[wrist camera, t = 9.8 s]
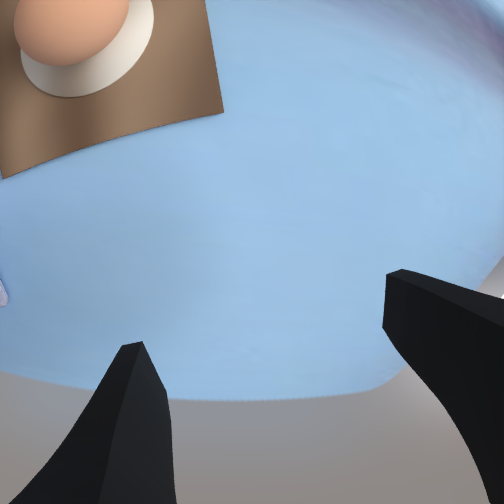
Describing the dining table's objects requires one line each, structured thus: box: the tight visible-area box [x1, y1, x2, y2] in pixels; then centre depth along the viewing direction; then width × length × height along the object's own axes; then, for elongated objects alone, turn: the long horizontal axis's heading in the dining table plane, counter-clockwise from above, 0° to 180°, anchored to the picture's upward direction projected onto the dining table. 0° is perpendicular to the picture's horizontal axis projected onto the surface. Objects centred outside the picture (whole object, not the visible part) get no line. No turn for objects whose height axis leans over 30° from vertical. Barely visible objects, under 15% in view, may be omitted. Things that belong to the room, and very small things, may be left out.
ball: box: [14, 0, 130, 66], centre depth 8 cm, size 5×5×5 cm
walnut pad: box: [0, 0, 224, 179], centre depth 11 cm, size 12×12×1 cm
